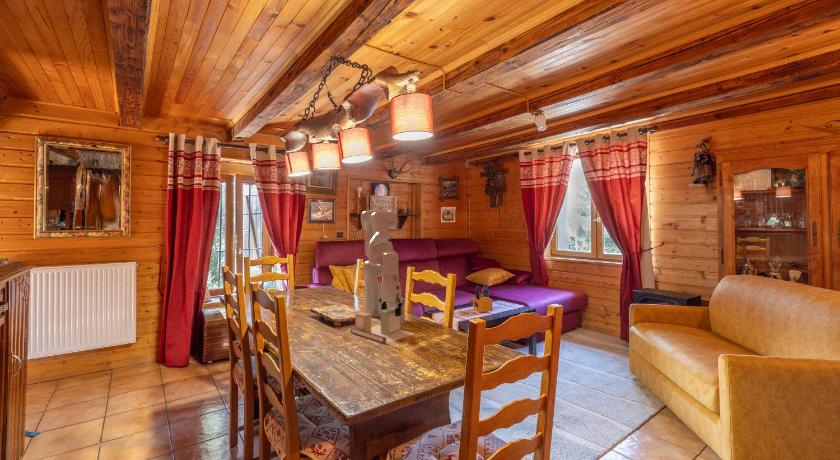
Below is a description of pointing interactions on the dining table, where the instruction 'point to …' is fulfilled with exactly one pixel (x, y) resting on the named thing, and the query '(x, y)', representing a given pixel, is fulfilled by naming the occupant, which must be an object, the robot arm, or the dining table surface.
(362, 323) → the faced box
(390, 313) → the tea box
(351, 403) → the dining table surface
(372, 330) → the shelf
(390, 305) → the supplement box
